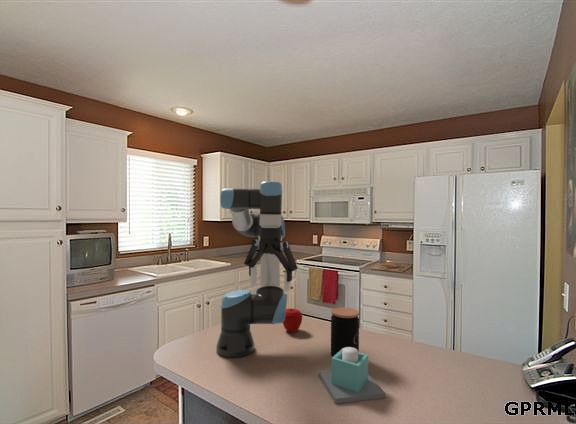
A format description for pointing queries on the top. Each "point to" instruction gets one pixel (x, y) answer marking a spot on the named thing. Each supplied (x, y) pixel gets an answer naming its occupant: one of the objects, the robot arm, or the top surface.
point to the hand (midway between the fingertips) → (269, 288)
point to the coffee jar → (344, 329)
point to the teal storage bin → (349, 372)
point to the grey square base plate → (345, 395)
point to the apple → (292, 320)
